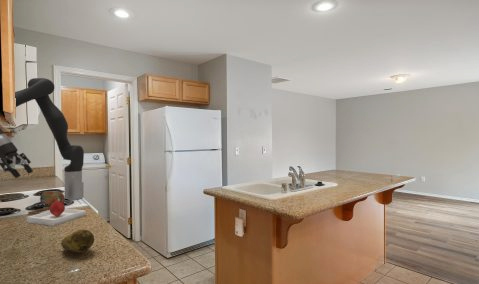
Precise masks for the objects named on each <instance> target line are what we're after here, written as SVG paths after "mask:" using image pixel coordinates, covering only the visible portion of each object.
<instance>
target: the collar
mask: <svg viewBox="0 0 479 284" xmlns="http://www.w3.org/2000/svg"><path fill="white" fill-rule="evenodd" d="M48 211H50V207H46V206H45V207H43V208H39V209H34V210H30V211H28V212H27V216H32V215H36V214H40V213H44V212H48Z"/></svg>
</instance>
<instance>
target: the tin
mask: <svg viewBox="0 0 479 284" xmlns="http://www.w3.org/2000/svg"><path fill="white" fill-rule="evenodd" d="M56 200H59V201H60V202H62V203H63V204H64V202H65V194H64V193H63V192H61V191H55V190H54V191H53V190H47V191H46V190H45V191H43V192H42V193H41V194H40V197H39V201H40V204H41V205H42V204H48V205H52V204H53V203H54V202H55V201H56Z"/></svg>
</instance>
